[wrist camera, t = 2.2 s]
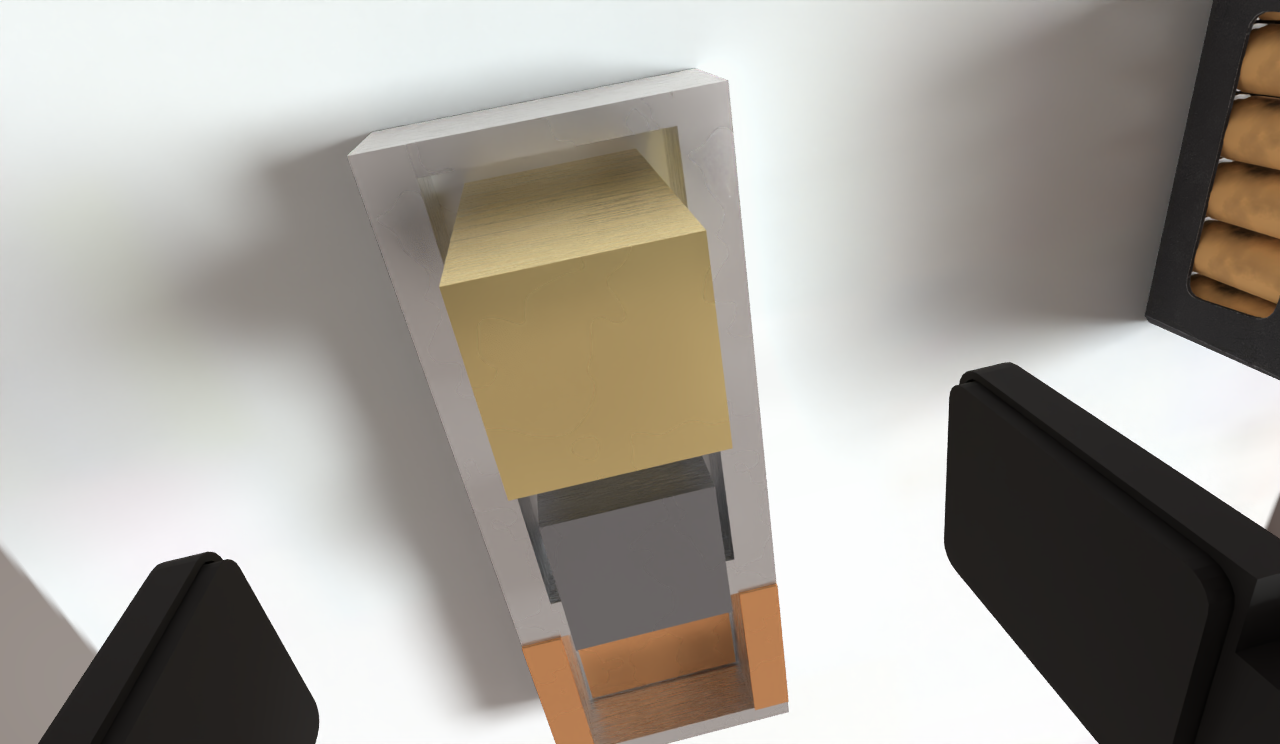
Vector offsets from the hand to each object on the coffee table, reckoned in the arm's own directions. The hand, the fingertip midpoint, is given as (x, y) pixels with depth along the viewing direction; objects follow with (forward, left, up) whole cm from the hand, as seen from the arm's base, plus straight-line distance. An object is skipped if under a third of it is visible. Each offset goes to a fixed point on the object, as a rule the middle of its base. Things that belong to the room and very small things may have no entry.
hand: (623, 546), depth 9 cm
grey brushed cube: (+6, 0, -10) cm, 12 cm away
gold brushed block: (-1, 0, -10) cm, 10 cm away
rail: (+6, 0, -11) cm, 13 cm away
